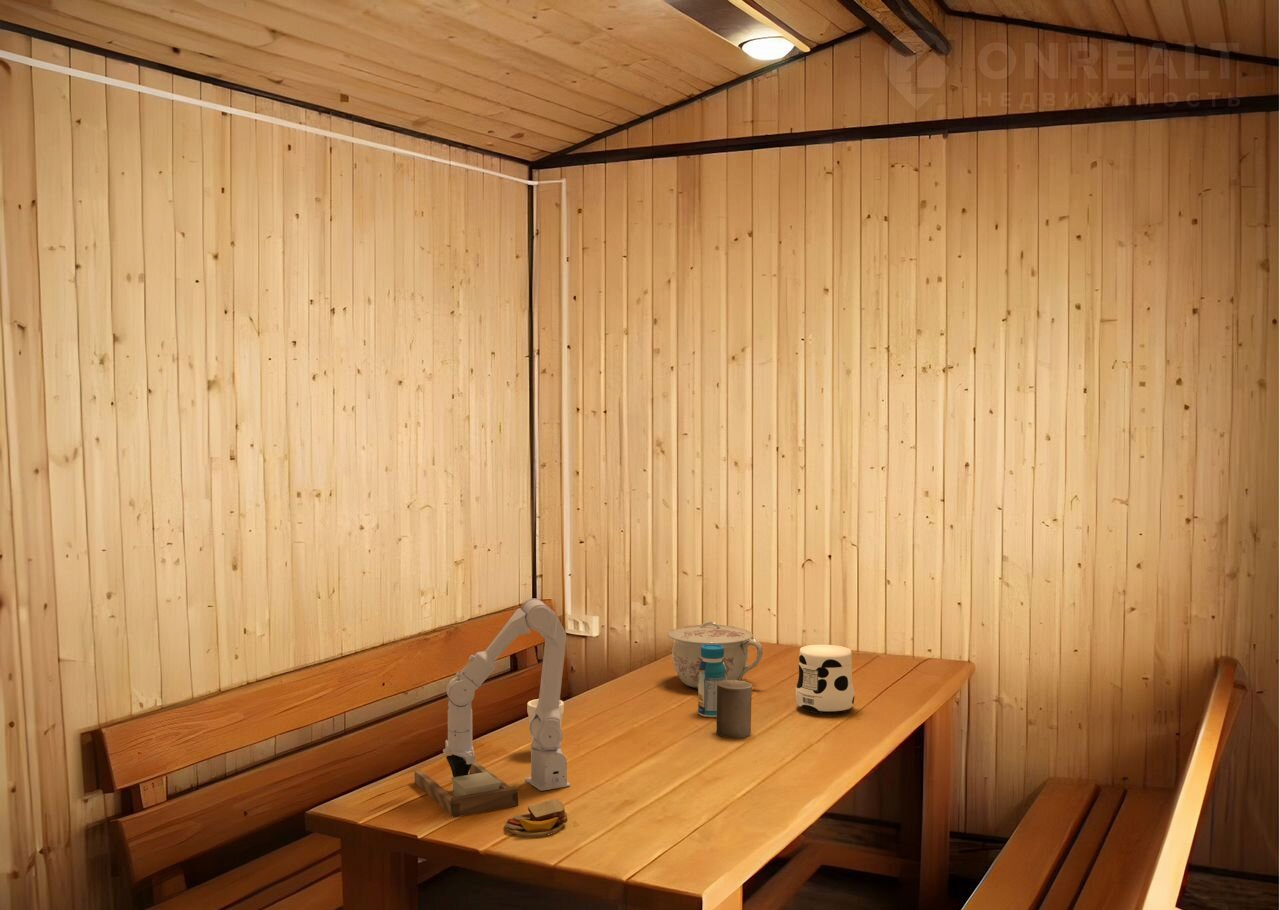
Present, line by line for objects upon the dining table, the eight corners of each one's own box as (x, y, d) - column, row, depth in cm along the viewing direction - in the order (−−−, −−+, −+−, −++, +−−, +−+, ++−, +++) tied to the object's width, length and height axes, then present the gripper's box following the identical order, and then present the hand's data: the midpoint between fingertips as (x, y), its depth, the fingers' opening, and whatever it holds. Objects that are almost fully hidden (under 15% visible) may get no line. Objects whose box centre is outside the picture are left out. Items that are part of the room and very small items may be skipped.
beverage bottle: (716, 719, 340) (716, 650, 339) (691, 714, 346) (692, 646, 345) (732, 713, 347) (732, 645, 346) (708, 708, 352) (708, 642, 351)
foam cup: (568, 748, 313) (568, 699, 312) (556, 759, 304) (556, 709, 303) (534, 745, 315) (534, 697, 314) (522, 755, 306) (522, 706, 305)
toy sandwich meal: (502, 820, 261) (502, 799, 261) (562, 816, 264) (562, 795, 263) (508, 841, 249) (508, 819, 248) (571, 836, 252) (571, 814, 251)
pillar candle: (710, 734, 325) (711, 681, 325) (724, 726, 334) (725, 673, 333) (743, 740, 321) (744, 685, 320) (756, 731, 330) (757, 677, 329)
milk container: (852, 703, 359) (852, 644, 358) (856, 718, 342) (857, 657, 341) (794, 701, 361) (795, 643, 360) (796, 717, 344) (796, 655, 343)
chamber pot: (652, 680, 387) (653, 617, 386) (726, 671, 399) (726, 610, 398) (692, 700, 362) (692, 633, 361) (769, 691, 374) (770, 625, 372)
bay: (518, 805, 269) (518, 788, 269) (453, 817, 262) (453, 799, 262) (475, 772, 292) (475, 756, 292) (414, 782, 285) (414, 766, 285)
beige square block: (500, 804, 269) (500, 782, 269) (464, 811, 265) (464, 788, 265) (486, 793, 277) (486, 771, 277) (451, 799, 273) (451, 777, 272)
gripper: (433, 723, 283) (433, 779, 284) (455, 739, 271) (455, 797, 271) (461, 719, 287) (461, 775, 287) (483, 735, 274) (484, 792, 275)
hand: (460, 786), depth 280 cm, fingers closed
